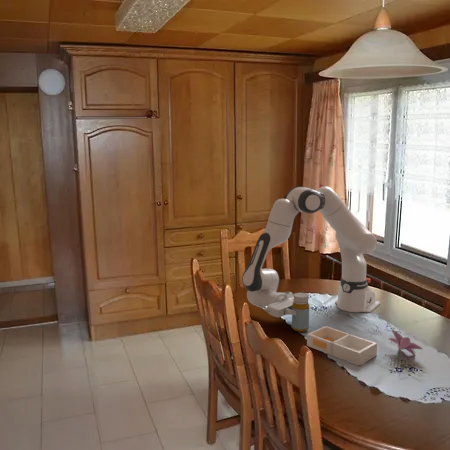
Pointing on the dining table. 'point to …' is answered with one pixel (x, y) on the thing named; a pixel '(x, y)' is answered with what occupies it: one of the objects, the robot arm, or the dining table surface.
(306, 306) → the bottle
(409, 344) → the lily
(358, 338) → the caddy
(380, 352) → the dining table surface
